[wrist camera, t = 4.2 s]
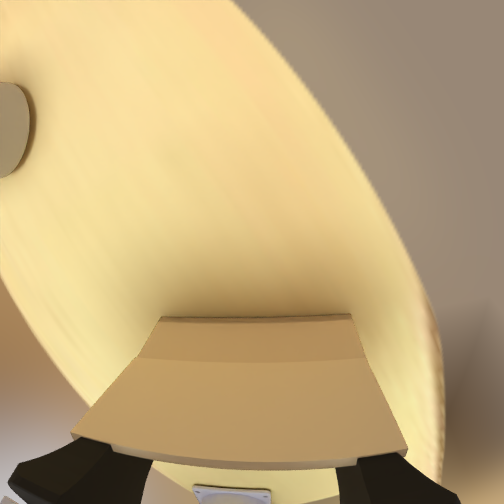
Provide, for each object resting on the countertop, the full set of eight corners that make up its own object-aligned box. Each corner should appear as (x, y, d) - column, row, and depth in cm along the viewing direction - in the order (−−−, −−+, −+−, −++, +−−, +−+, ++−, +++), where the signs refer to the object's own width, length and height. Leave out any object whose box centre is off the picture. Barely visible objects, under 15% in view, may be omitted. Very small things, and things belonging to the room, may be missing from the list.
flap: (405, 456, 7) (408, 448, 7) (73, 440, 8) (70, 432, 8) (364, 365, 13) (365, 357, 13) (136, 364, 14) (135, 357, 14)
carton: (340, 389, 19) (350, 440, 15) (179, 388, 20) (161, 437, 16) (350, 313, 17) (368, 364, 13) (161, 316, 18) (133, 363, 14)
